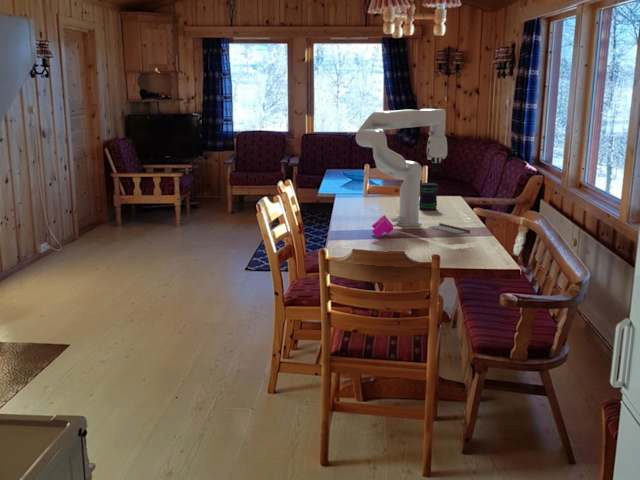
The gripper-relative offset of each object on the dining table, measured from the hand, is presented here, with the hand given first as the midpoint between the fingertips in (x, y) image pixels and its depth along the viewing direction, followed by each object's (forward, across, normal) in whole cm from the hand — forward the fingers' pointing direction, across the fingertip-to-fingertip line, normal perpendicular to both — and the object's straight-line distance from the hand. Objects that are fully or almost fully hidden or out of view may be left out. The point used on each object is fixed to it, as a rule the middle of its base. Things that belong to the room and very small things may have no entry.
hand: (435, 170), depth 327 cm
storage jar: (+26, +15, +25) cm, 39 cm away
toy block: (+19, -42, -21) cm, 51 cm away
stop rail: (+25, -6, -24) cm, 35 cm away
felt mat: (+25, -10, -24) cm, 37 cm away
